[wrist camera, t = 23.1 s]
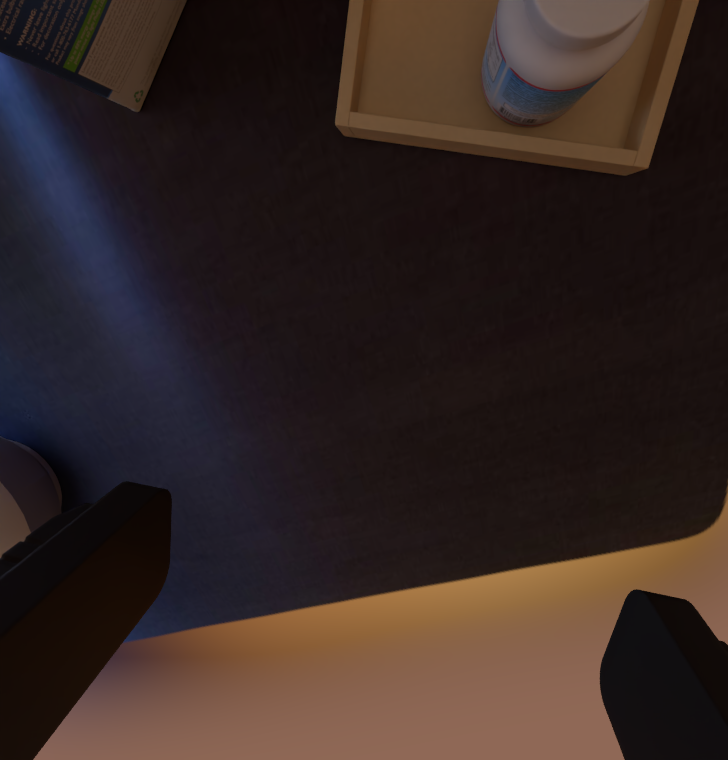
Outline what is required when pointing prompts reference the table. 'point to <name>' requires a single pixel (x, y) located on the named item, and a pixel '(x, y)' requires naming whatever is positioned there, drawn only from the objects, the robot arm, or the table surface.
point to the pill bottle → (553, 54)
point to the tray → (465, 94)
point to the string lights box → (92, 41)
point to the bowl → (25, 493)
